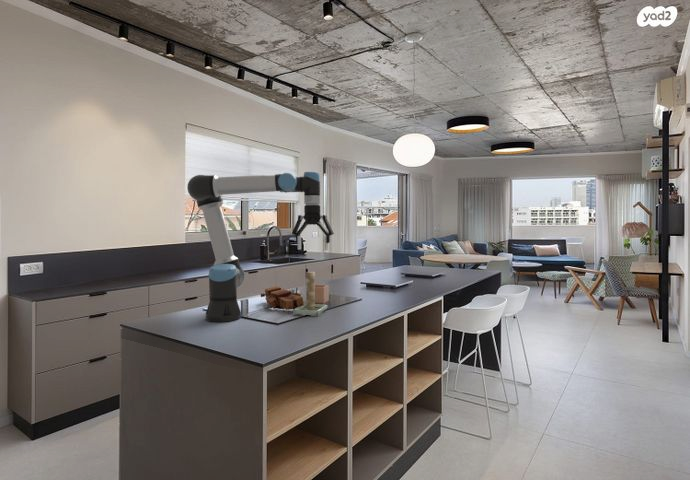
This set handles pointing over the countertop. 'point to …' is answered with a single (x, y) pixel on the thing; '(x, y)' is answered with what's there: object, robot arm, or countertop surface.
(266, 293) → the brown chunky pile
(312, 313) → the tray
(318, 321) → the countertop surface
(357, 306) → the countertop surface
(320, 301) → the pink cube
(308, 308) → the cream tall column
